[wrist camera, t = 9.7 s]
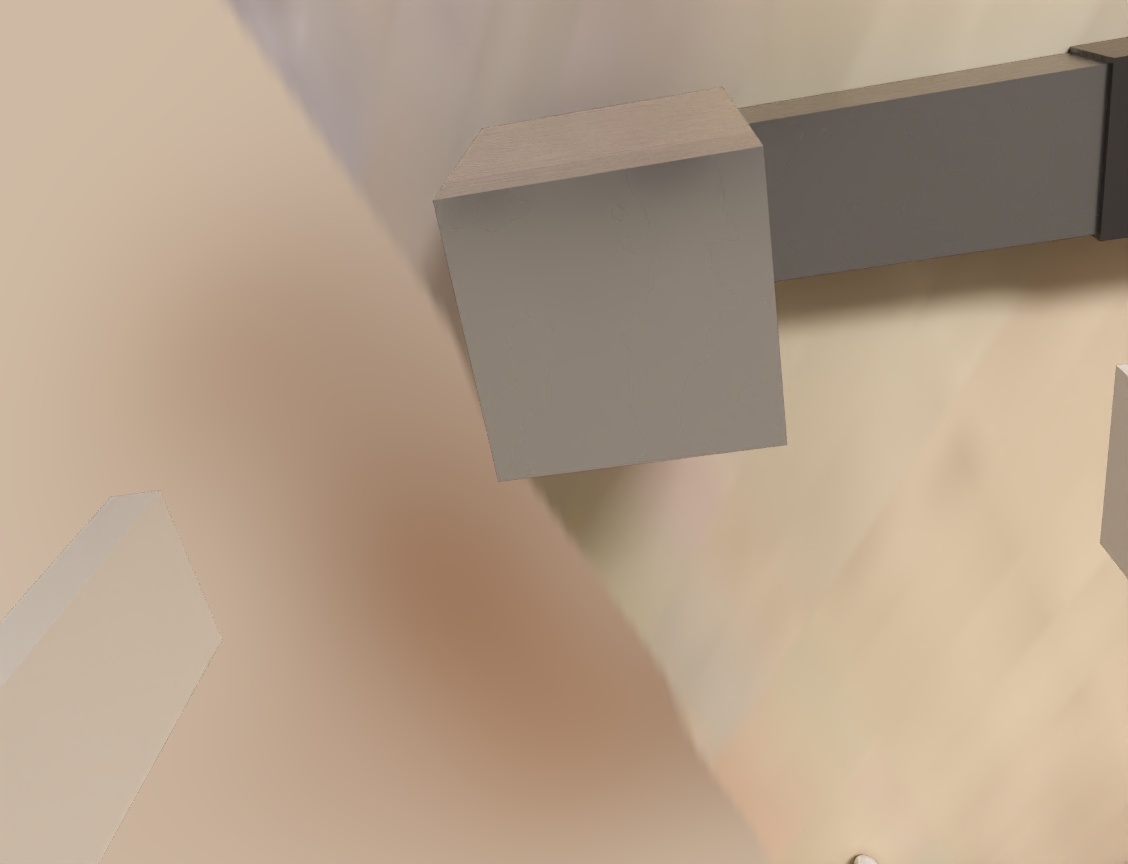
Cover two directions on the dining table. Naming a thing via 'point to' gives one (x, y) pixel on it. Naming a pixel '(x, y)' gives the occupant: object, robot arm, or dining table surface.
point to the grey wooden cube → (617, 285)
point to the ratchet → (948, 163)
